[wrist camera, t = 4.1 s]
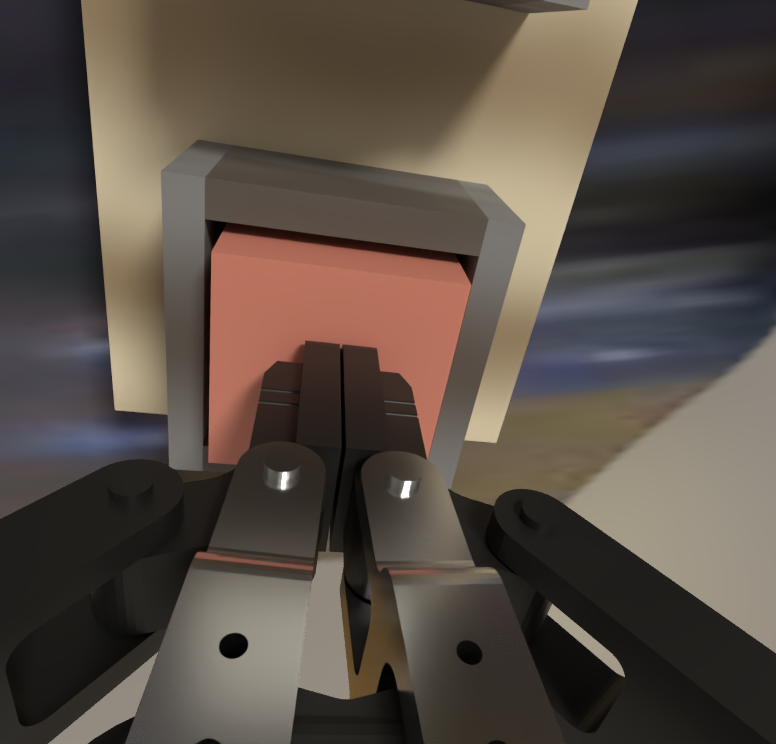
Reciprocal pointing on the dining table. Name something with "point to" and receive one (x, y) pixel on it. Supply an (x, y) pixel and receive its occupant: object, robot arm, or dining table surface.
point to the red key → (325, 317)
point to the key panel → (338, 167)
